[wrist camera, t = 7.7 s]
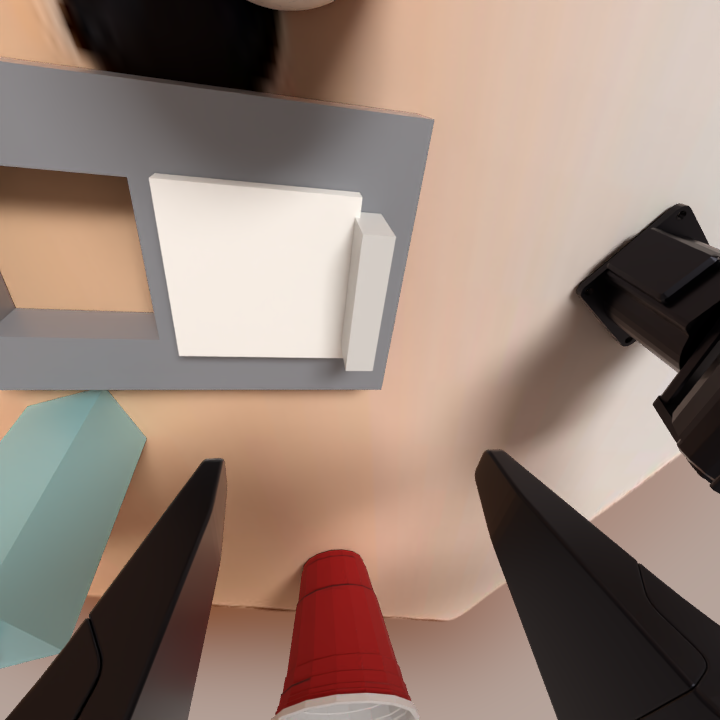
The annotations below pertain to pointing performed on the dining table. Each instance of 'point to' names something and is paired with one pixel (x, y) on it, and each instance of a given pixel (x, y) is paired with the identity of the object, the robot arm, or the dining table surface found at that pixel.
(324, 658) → the plastic cup
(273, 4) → the teacup with lid
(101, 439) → the teal rectangular bottle
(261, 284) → the panel
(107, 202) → the dining table surface
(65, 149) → the socket plate
